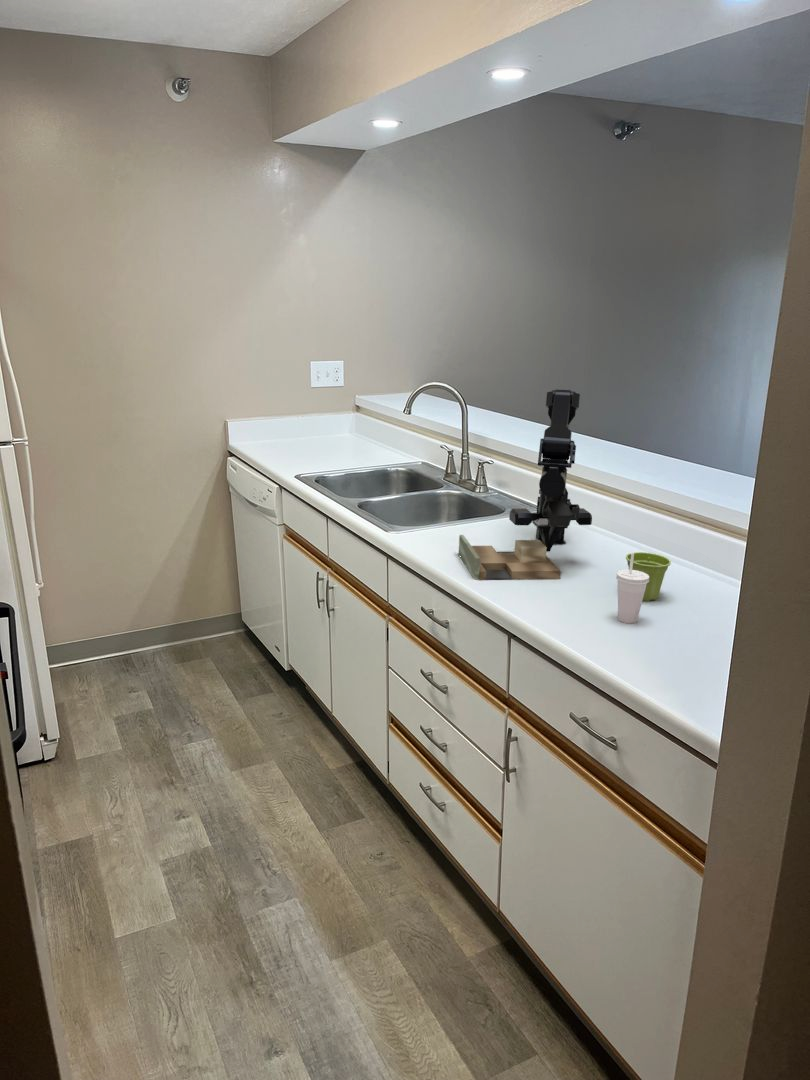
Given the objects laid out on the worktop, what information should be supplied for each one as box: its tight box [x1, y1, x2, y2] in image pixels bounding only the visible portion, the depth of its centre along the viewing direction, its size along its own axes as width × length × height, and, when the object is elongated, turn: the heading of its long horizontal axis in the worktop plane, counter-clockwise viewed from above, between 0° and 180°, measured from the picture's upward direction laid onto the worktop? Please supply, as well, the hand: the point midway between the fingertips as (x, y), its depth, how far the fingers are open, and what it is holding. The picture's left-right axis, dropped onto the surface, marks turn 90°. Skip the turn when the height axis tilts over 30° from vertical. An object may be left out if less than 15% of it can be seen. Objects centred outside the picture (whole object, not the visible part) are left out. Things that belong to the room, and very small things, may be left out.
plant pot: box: [625, 551, 672, 602], centre depth 175 cm, size 9×9×9 cm
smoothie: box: [615, 552, 649, 624], centre depth 161 cm, size 6×6×14 cm
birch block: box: [514, 539, 547, 562], centre depth 194 cm, size 6×6×4 cm
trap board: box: [458, 534, 562, 581], centre depth 193 cm, size 20×20×5 cm
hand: (547, 551), depth 194 cm, fingers closed
